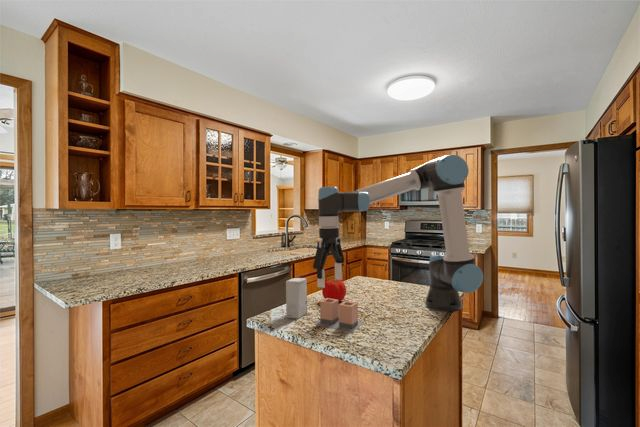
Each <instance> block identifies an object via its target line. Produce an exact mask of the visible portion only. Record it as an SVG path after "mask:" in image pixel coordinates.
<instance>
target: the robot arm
mask: <svg viewBox="0 0 640 427" xmlns="http://www.w3.org/2000/svg"><path fill="white" fill-rule="evenodd" d="M467 177H469V165H468V163H467V161H466V160H465V159H464V158H462V157H461V156H460V155H457V154H447V155H442V156H440V157H437V158H434V159H431V160H428V161H427V162H425V163H423V164H420V165H419V166H417V167H415V168H412V169H409V171H408V172H407V173H403V174H401V175H398V176H395V177H392V178H389V179H386V180H383V181H379V182H377V183H374V184H371V185H368V186H365V187H362V188H359V189H356V190H353V191H345V192H344V191H339V189H338V186H323V187H319V189H318V199H317V203H318V206H317V207H318V226H319V227H320V228H319V229H318V232H319V233H318V237H319V238H320V239H321V241H317V244H316V252H315V256H314V261H313V264H312V268H313V269H314V270H316V278H317V280H316V282H317V286H316V287H317V288H322V289H323V288H324V287H325V282H326V281H325V280H326V279H325V277H326V274H325V269H324V268H325V263H326V262H327V258H328V256H329V254H331V255H332V257H333V259H334V280H336V279H337V280H338V281H342V280H343V276H342V275H343V271H342V270H343V268H342V267H343V266H342V265H343V264H344V263H345V256H344V252H343V249H342V245H341V238H339V237H340V229H339V228H338V227H339V226H340V225H339V220H340V218H339V213H340V212H341V213H342V212H346V213H347V212H366V211H369V209H370V205H371V204H374V203H375V204H376V203H378V202H380V201H383V200H386V199H390V198H393V197H395V196H398V195H401V194H404V193H407V192H411V191H414V190H415V191H420V190H425V189H429V188H433V189H432V191H433V193H434V194H436V195H437V198H438V205H439V212H440V217H441V225H442V234H443V240H444V246H445V254H432V255H430V257H429V263H428V265H429V266H428V267H429V268H428V269H429V288H428V292H427V295H426V297H425V306H426V307H427V308H429V309H432V310H434V311H440V312H458V311H462V309H463V302H462V298H461V296H460V293H462V294H471V293H474V292H476V291H477V290H478V289H479V288H480V287H481V286H482V284H483V281H484V273H483V270H482V269H481V268H480V267H479V265H476V258H475V257H476V256H475V255H474V254H473V253H471V252H470V246H469V238H468V230H467V224H466V219H465V218H466V217H465V211H464V210H465V209H464V203H463V196H462V192H463V190H464V189H465V188H466V186H465V181H466V180H467ZM459 292H460V293H459Z"/></svg>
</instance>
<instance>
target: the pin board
mask: <svg viewBox="0 0 640 427" xmlns="http://www.w3.org/2000/svg"><path fill="white" fill-rule="evenodd" d="M364 324H365V321H364V322H363V321H359V320H358V325H357V326H355V327H354V328H353V329H349V328H344V327H340V326H339V321H337V322H336V323H334V324H333V325H330V324H325V323H321V322H320V319H319V320H318V321H316V322H314V323H313V325H315V326H320V327H323V328H329V329H333V330H337V331H343V332H347V333H351V334H352V333H354V332H355V331H356V330H357V329H359V328H360V327H361V326H362V325H364Z"/></svg>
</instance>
